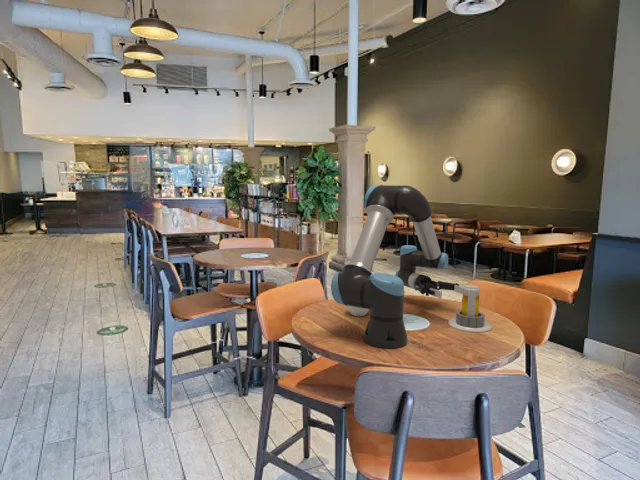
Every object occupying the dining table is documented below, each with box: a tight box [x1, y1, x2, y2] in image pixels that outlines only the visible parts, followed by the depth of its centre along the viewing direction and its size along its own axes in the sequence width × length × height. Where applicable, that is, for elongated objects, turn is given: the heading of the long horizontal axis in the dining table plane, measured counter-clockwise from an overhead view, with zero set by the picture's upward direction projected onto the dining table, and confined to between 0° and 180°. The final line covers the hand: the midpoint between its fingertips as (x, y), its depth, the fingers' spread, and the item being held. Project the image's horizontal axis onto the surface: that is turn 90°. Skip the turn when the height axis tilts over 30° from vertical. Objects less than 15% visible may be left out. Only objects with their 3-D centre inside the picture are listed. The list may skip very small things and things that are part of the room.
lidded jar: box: [346, 306, 370, 317], centre depth 180 cm, size 11×11×9 cm
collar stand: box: [448, 309, 493, 333], centre depth 166 cm, size 16×16×5 cm
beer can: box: [461, 284, 481, 317], centre depth 165 cm, size 6×6×15 cm
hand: (453, 293), depth 173 cm, fingers open, 13 cm apart
